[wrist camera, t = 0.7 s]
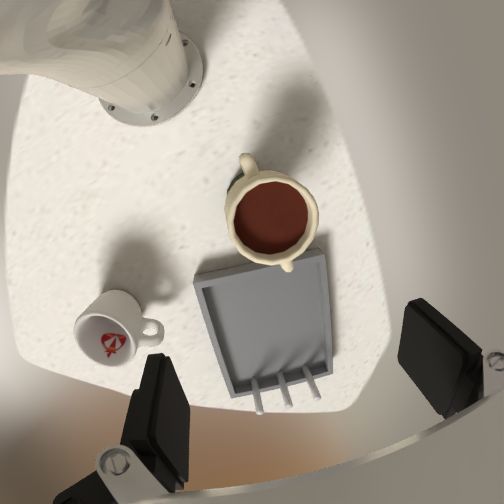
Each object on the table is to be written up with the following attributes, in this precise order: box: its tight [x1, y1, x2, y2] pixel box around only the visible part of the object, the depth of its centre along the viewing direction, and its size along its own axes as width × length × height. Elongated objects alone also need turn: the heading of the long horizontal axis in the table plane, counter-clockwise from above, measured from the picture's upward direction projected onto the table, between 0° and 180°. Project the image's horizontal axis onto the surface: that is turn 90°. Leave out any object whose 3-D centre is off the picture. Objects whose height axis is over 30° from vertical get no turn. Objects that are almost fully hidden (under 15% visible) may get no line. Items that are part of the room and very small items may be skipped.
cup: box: [74, 290, 164, 367], centre depth 33 cm, size 11×8×8 cm
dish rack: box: [193, 248, 333, 415], centre depth 37 cm, size 20×16×8 cm
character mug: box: [224, 153, 319, 272], centre depth 28 cm, size 11×7×13 cm, turn 21°
